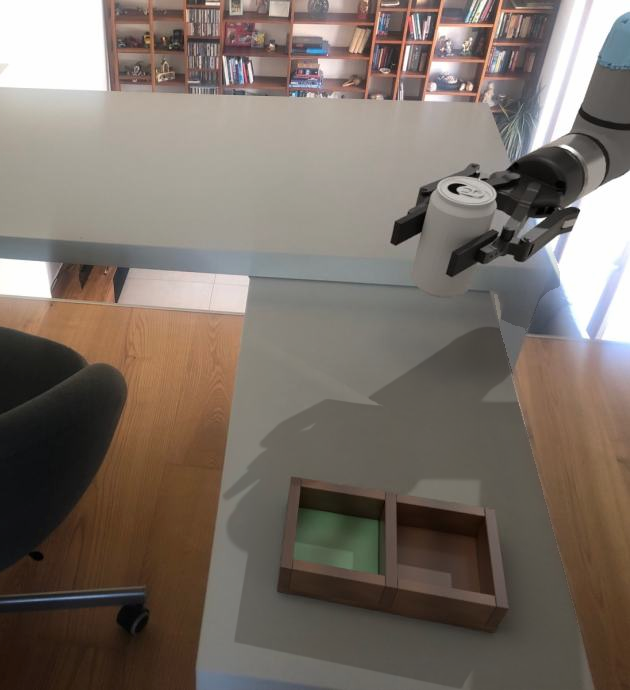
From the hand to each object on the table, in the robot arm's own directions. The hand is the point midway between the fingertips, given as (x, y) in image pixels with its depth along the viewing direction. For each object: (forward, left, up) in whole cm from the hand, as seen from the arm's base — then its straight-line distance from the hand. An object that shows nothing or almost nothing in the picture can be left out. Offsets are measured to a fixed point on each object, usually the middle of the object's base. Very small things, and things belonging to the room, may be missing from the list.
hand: (423, 248), depth 71 cm
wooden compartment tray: (+1, +26, -18) cm, 31 cm away
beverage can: (-3, -4, -7) cm, 9 cm away
